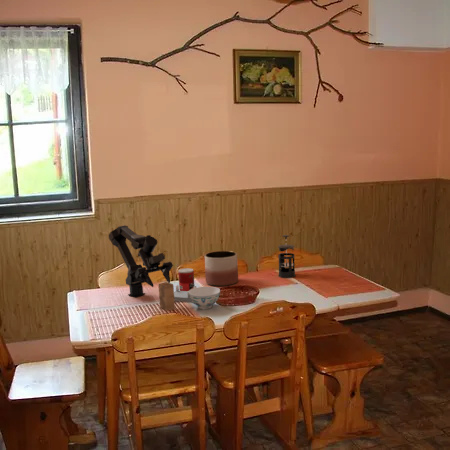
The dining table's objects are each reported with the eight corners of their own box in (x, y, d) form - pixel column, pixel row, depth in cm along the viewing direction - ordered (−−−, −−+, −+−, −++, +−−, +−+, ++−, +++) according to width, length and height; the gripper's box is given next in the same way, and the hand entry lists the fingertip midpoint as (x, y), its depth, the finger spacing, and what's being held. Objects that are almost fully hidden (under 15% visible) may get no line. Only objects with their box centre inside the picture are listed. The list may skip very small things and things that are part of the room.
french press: (299, 276, 306) (298, 236, 302) (283, 279, 303) (282, 237, 299) (289, 272, 317) (288, 232, 313) (274, 274, 314) (273, 234, 310)
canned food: (192, 292, 285) (191, 272, 284) (177, 292, 287) (176, 271, 285) (196, 288, 293) (195, 268, 291) (181, 288, 294) (180, 268, 293)
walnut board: (160, 308, 263) (158, 283, 261) (168, 306, 266) (166, 281, 264) (166, 311, 259) (165, 286, 256) (174, 308, 261) (173, 284, 259)
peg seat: (168, 300, 274) (167, 290, 274) (176, 294, 284) (175, 285, 283) (190, 301, 271) (190, 292, 270) (198, 295, 280) (197, 286, 279)
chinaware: (224, 309, 257) (224, 293, 256) (193, 313, 253) (192, 297, 252) (216, 300, 272) (215, 285, 270) (186, 304, 268) (185, 288, 266)
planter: (214, 276, 314) (213, 249, 311) (243, 279, 306) (242, 251, 304) (200, 285, 298) (198, 257, 295) (230, 288, 291) (228, 259, 288)
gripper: (135, 251, 259) (149, 278, 252) (169, 245, 270) (183, 271, 264) (129, 265, 267) (142, 292, 260) (162, 258, 278) (175, 283, 271)
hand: (161, 284), depth 263 cm, fingers open, 9 cm apart
